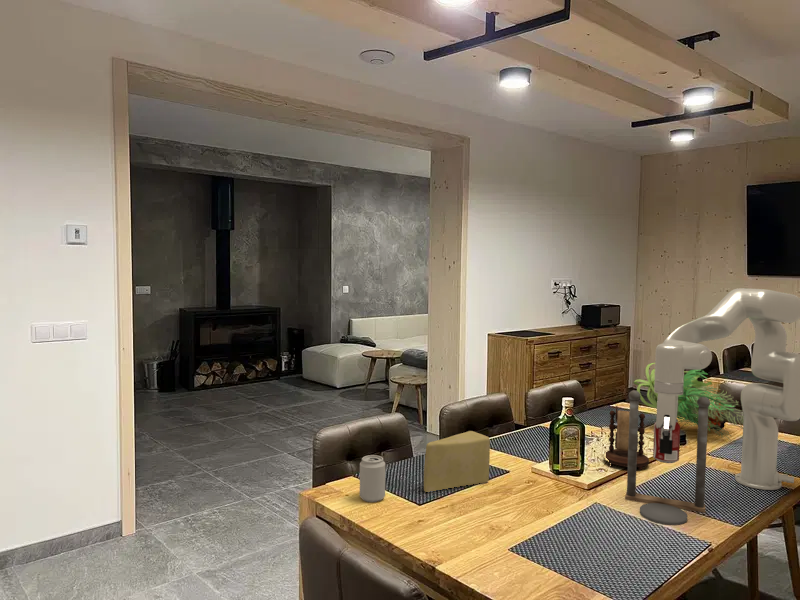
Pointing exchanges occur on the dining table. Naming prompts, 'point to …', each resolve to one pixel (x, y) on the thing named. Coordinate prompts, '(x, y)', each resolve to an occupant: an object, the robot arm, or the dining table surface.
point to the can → (372, 478)
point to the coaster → (663, 514)
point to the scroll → (624, 440)
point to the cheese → (457, 461)
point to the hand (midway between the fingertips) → (666, 449)
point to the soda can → (675, 445)
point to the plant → (694, 400)
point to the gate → (700, 462)
